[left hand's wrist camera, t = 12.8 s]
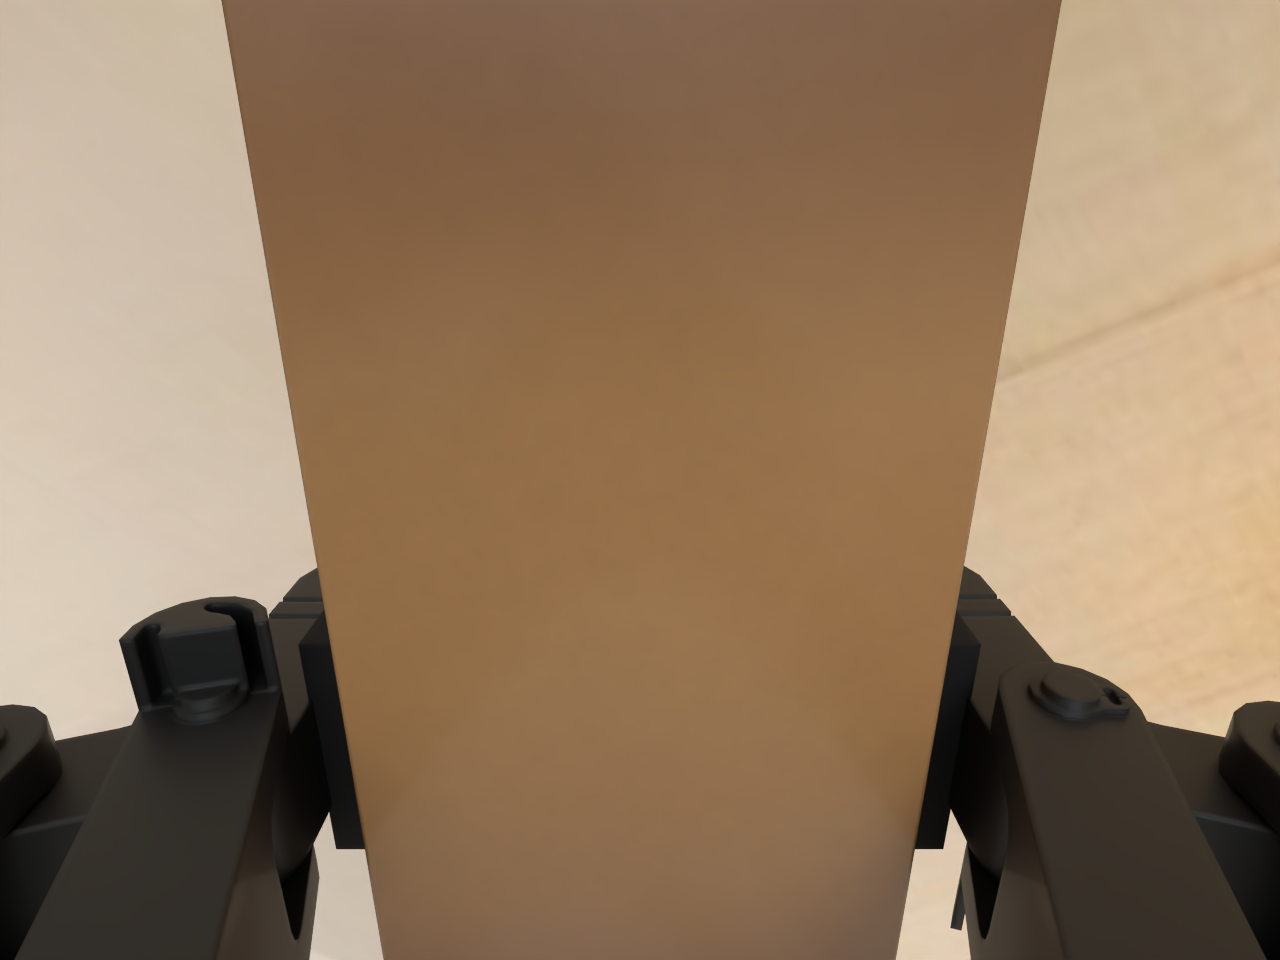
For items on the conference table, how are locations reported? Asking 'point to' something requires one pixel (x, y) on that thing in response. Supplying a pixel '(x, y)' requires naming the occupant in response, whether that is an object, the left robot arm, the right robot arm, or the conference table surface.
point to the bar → (640, 441)
